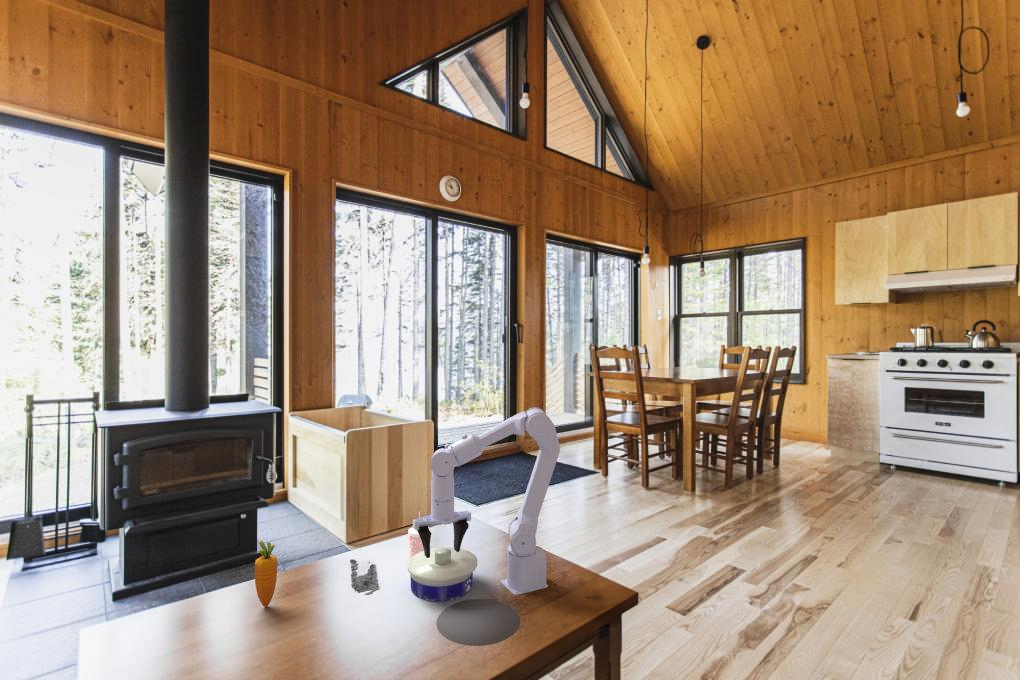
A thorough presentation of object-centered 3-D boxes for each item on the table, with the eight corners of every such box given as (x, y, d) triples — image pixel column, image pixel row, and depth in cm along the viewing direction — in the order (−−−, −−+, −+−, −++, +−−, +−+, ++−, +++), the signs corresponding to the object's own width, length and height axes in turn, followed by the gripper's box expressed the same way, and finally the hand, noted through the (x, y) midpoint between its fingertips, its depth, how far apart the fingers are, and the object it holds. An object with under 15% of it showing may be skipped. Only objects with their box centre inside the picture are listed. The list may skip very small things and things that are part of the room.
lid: (462, 545, 135) (462, 533, 135) (488, 572, 120) (488, 558, 120) (399, 557, 128) (399, 544, 128) (419, 587, 112) (419, 572, 112)
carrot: (281, 606, 115) (282, 541, 115) (258, 615, 111) (259, 547, 111) (272, 599, 118) (273, 535, 118) (250, 607, 114) (250, 541, 114)
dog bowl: (463, 607, 115) (463, 581, 115) (400, 601, 118) (400, 575, 118) (479, 576, 130) (479, 553, 130) (423, 571, 133) (423, 548, 133)
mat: (497, 594, 121) (497, 592, 121) (534, 633, 105) (535, 631, 105) (425, 611, 113) (425, 610, 113) (453, 657, 97) (453, 655, 97)
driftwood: (380, 597, 120) (380, 588, 120) (350, 602, 118) (350, 593, 118) (375, 562, 140) (375, 554, 140) (350, 565, 138) (350, 557, 138)
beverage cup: (405, 560, 139) (405, 509, 139) (426, 556, 142) (426, 506, 142) (411, 569, 134) (411, 516, 134) (433, 564, 137) (433, 513, 137)
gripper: (418, 507, 117) (418, 565, 117) (476, 499, 124) (475, 554, 124) (410, 498, 124) (410, 554, 124) (465, 491, 130) (464, 543, 130)
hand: (442, 553), depth 124 cm, fingers open, 7 cm apart
